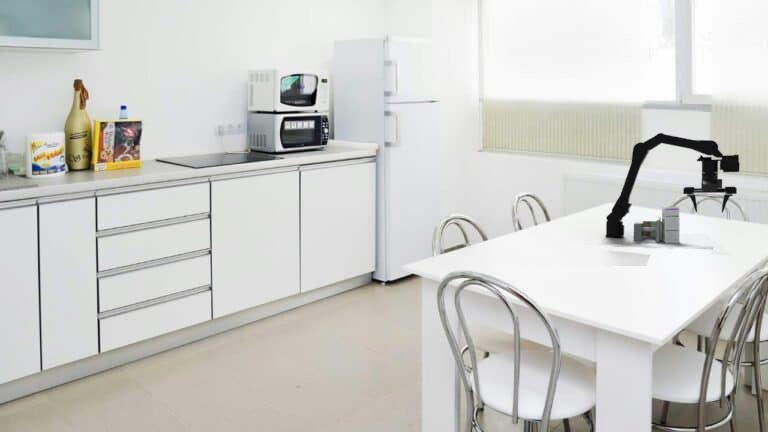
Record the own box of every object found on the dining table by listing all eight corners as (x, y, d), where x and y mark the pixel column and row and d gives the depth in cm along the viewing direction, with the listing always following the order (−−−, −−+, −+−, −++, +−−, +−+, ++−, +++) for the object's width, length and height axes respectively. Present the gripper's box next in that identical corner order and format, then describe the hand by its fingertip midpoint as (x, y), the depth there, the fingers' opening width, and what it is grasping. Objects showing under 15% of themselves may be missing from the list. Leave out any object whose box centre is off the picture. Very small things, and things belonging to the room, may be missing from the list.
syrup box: (679, 243, 266) (680, 206, 266) (664, 242, 268) (664, 206, 267) (676, 241, 272) (677, 206, 271) (661, 241, 273) (661, 206, 272)
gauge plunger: (633, 240, 272) (633, 218, 271) (636, 238, 283) (637, 216, 282) (658, 241, 267) (659, 218, 267) (661, 239, 279) (661, 216, 278)
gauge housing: (633, 242, 272) (633, 222, 271) (636, 239, 282) (636, 220, 281) (661, 243, 267) (661, 222, 267) (663, 240, 277) (663, 221, 277)
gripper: (683, 173, 260) (682, 213, 260) (737, 172, 252) (737, 213, 252) (683, 173, 270) (683, 212, 270) (736, 172, 262) (735, 212, 262)
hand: (709, 212), depth 264 cm, fingers open, 9 cm apart
